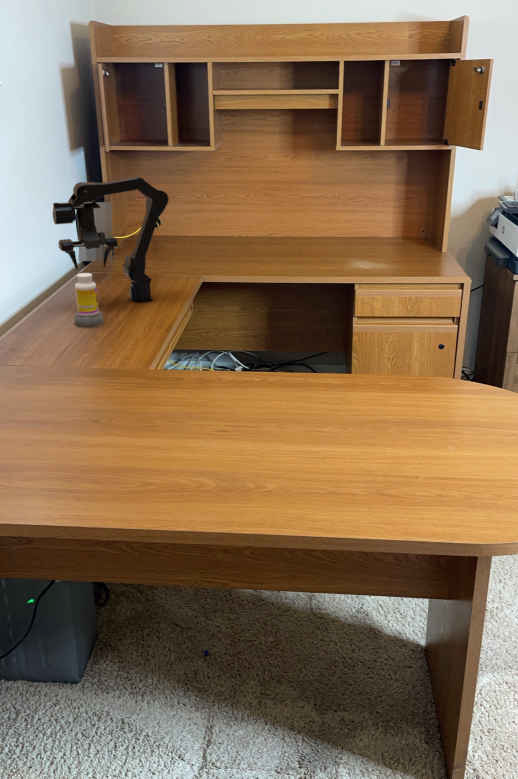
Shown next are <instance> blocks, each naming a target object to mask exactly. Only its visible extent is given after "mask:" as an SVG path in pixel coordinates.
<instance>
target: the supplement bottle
mask: <svg viewBox="0 0 518 779" xmlns="http://www.w3.org/2000/svg"><path fill="white" fill-rule="evenodd" d="M76 279H77V282H76V283H75V285H74V289H75V298H76V300H75V302H76V308H77V312H78V314H79V315H80V316H85V317H88V316H94V315H97V314H98V313H99V311H100V310H99V301H98V299H99V298H98V290H97V284H96V283H95V281H93V273H89V272H83V273H78V274H77V275H76Z"/></svg>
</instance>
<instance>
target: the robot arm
mask: <svg viewBox="0 0 518 779" xmlns="http://www.w3.org/2000/svg"><path fill="white" fill-rule="evenodd" d="M130 191H138V192H139V193H140V194H142V195H143V196H145V197H146V198H145V214H144V217H143V221H142V224H141V226H140V227H141V228H140V231H139V232H138V237H137V240H136V243H135V246H134V248H133V251H132V253H131V254H130V255H127V254H126V255H125V259H124V262H123V264H122V267H123V272H124V274H125V276H126V277H127V278H129V279H130V280H129V281H130V286H129V287H128V288H129V298H130V300H131V301H132V302H134V303H142V302H151V301H153V297H152V296H151V294H152V293H151V282H152V278H151V277H149V276H148V274H146V273H145V272H146V268H147V267H146V265H147V264H146V257H147V253H148V251H149V247H150V244H151V241H152V238H153V235H154V233H155V228H156V226H157V223H158V220H159V218H160V216H161V215H162V214H163V212H165V209H166V208H167V205H168V204H169V201H170V199H169V196H168V194H167V192H165V191H163V189H159V188H155V187H154V186H153V185H151V184H150V183H148V182H147V181H145V180H144V178H142V177H141V176H138V175H135V176H133V177H126V178H123V179H116V180H110V181H105V182H93V181H91V182H88V181H85V182H84V181H83V182H82V181H81V182H80V181H79V182H77V183H76V184H75V185H74V186H73V189H72V195H71V196H70V198H69V199H68V201H67V202H52V206H53V207H52V220H53V223H54V225H64V224H66V225H67V224H68V225H69V224H73V223H74V222H76V221H77V230H78V240H77V241H73V240H72V239H71V238H66V239H59V241H58V242H57V244H58V249H60V251H61V252H64V253H66V254H68V255H69V258H70V259H71V261H72V264H73V266H74V268H75V270H76V271H78V268H79V267H78V262H77V257H76V250H74V249H75V248H79V247H81V248H82V247H85V249H86V250H91V249H100V247H101V263H102V268H106V264H107V260H108V256H109V254H110V252H111V251H112V250H114V249H115V247H118V240H117V238H116V237H114V236H113V235H106V234H105V232H104V231H99V232H98V231H97V226H96V220H95V217H96V216H95V209H100V208H101V206H100V205H99V204H98V203H97V202H96V201H95V200H98V199H100V198H101V197H105V196H108V195H114V194H119V193H125V192H130Z"/></svg>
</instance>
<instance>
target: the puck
mask: <svg viewBox="0 0 518 779" xmlns="http://www.w3.org/2000/svg"><path fill="white" fill-rule="evenodd" d="M73 323H74V326H75V325H77V326H79V327H78V328H83V327H89V328H95V327H94V326H96V327H99V326H101V325H103V324H102V323H104V316H103V312H102V311H100V310H99V313H98V314H97V315H94V316H88V317H85V316H80V315H79V314H78V311H77V312H75V313H74V314H73ZM100 324H101V325H100ZM98 325H99V326H98ZM77 326H76V327H77Z"/></svg>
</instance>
